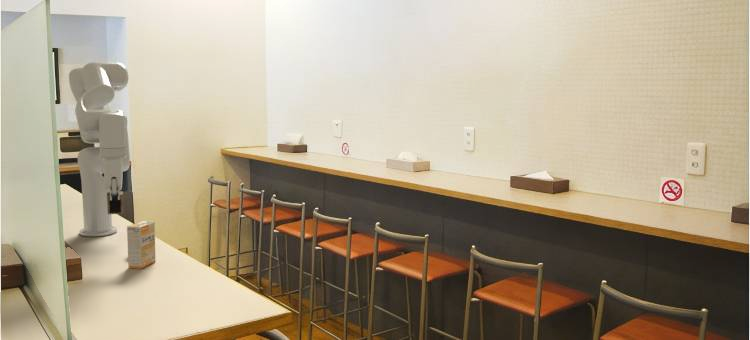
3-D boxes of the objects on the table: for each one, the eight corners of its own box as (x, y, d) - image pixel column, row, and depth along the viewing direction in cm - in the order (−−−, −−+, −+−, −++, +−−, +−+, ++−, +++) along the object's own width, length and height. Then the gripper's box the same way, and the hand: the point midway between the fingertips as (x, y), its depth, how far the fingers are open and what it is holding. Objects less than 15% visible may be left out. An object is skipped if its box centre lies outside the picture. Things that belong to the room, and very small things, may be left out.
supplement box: (142, 269, 194) (140, 227, 192) (127, 268, 195) (126, 226, 193) (156, 261, 202) (155, 221, 200) (142, 260, 203) (141, 220, 201)
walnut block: (108, 210, 201) (107, 192, 200) (123, 210, 203) (122, 191, 201) (107, 214, 197) (106, 195, 196) (123, 213, 198) (122, 194, 197)
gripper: (100, 149, 203) (103, 205, 206) (99, 157, 187) (101, 218, 190) (126, 148, 205) (128, 204, 209) (126, 156, 190) (128, 216, 193)
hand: (115, 210), depth 200 cm, fingers closed on walnut block, 4 cm apart
